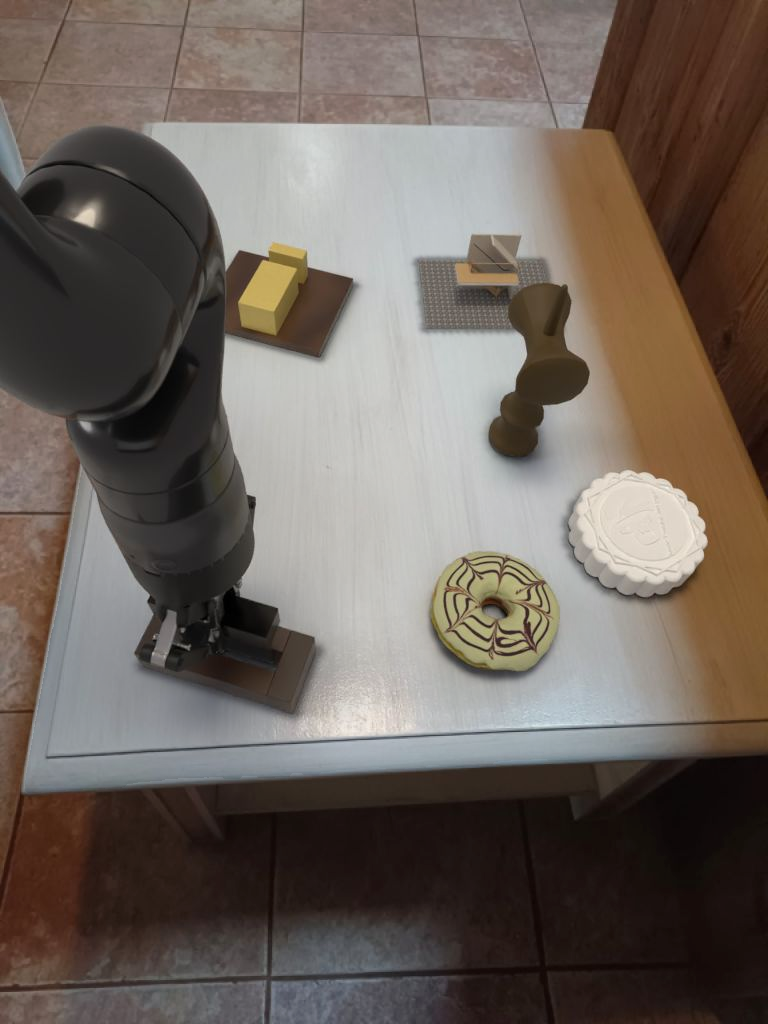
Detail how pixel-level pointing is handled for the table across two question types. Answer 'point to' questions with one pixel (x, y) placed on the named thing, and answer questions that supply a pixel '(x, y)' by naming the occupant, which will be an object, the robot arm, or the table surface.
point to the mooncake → (637, 533)
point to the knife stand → (250, 670)
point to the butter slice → (290, 258)
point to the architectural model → (477, 284)
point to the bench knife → (246, 626)
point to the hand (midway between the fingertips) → (220, 626)
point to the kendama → (538, 367)
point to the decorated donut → (483, 636)
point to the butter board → (307, 314)
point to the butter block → (268, 297)
